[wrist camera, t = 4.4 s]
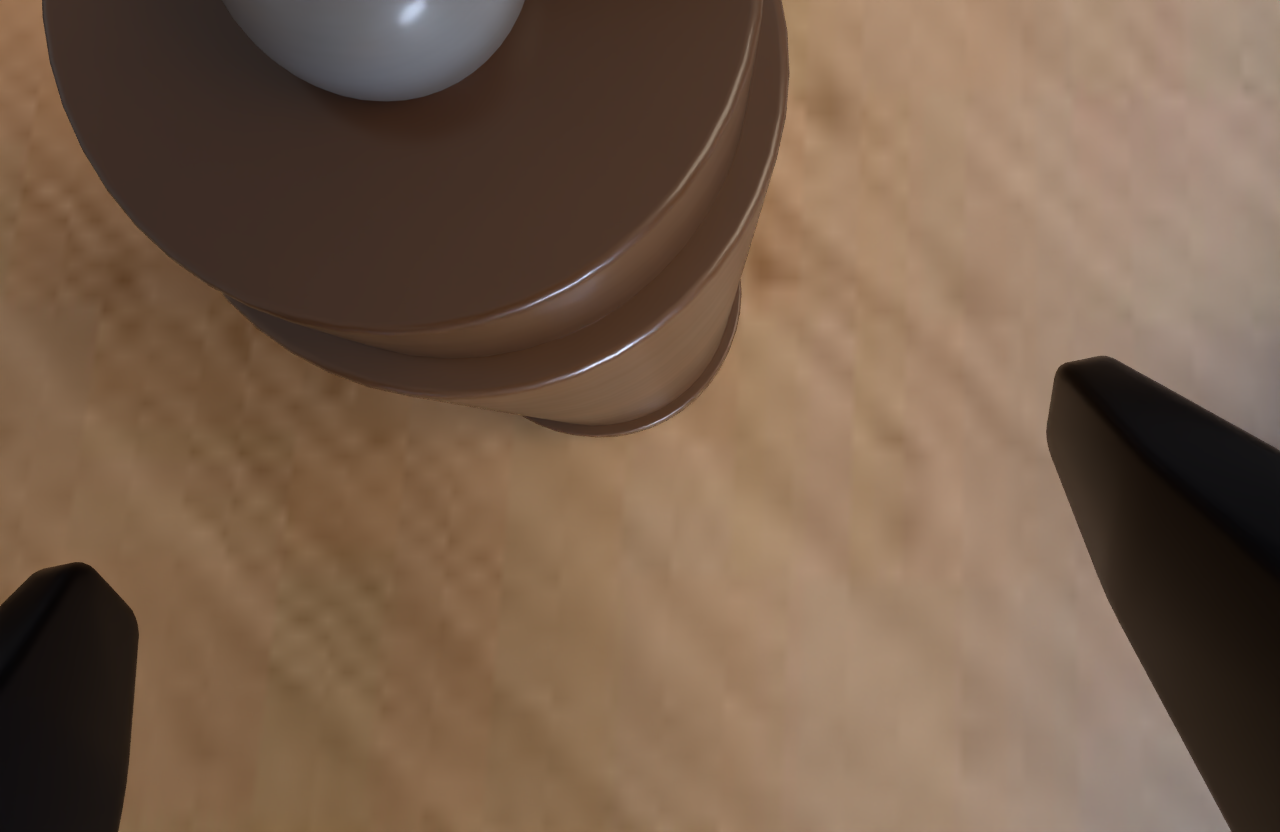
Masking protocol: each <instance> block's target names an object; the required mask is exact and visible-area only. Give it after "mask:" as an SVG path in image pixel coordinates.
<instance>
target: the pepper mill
mask: <svg viewBox="0 0 1280 832" xmlns="http://www.w3.org/2000/svg"><path fill="white" fill-rule="evenodd" d="M42 11H43V22H44V28H45V34H46V41H47V47H48V53H49V60H50V64H51V67H52V71H53V74H54V78H55V81H56V84H57V88H58V91H59V95H60V98H61V101H62V105H63V107H64V110H65V112H66V114H67V116H68V119H69V121H70V123H71V125H72V128H73V130H74V132H75V134H76V137H77V139H78V141H79V143H80V146H81V148H82V150H83V152H84V153H85V155H86V157H87V158H88V160H89V161H90V163H91V165H92V166H93V168H94V170H95V171H96V173H97V175H98V176H99V178H100V179H101V181H102V183H103V184H104V186H105V188H106V189H107V191H108V192H109V193H110V195H111V196H112V197H113V198H114V200H115V201H116V202H117V203H118V204H119V206H120V207H121V208H122V209H123V211H124V212H125V213H126V214H127V215H128V217H129V218H130V219H131V220H132V222H133V223H134V224H135V225H136V226H137V228H138V229H139V230H141V231H142V232H143V233H144V234H145V235H146V236H147V237H148V238H149V239H150V240H151V241H152V242H153V243H154V244H156V245H157V246H158V247H159V248H160V249H161V250H162V251H163V252H164V253H165V254H166V255H167V256H168V257H169V258H171V259H172V260H173V261H175V262H176V263H177V264H179V265H180V266H182V267H183V268H184V269H186V270H187V271H189V272H190V273H192V274H193V275H194V276H196V277H197V278H199V279H200V280H201V281H203V282H204V283H206V284H207V285H208V286H210V287H212V288H214V289H216V290H218V291H220V292H221V293H222V294H223V295H224V297H225V298H226V299H227V300H228V301H229V302H230V303H231V304H232V305H233V306H234V307H235V308H236V309H237V310H238V311H239V312H240V313H241V314H243V315H244V316H245V317H246V318H247V319H248V320H249V321H250V322H251V323H252V324H253V325H254V326H255V327H256V328H257V329H259V330H260V331H261V332H263V333H264V334H266V335H267V336H269V337H270V338H271V339H273V340H274V341H276V342H277V343H278V344H280V345H281V346H283V347H284V348H285V349H287V350H288V351H290V352H291V353H293V354H294V355H296V356H298V357H300V358H302V359H304V360H306V361H308V362H310V363H312V364H313V365H315V366H317V367H319V368H321V369H323V370H325V371H327V372H329V373H331V374H334V375H337V376H339V377H342V378H345V379H348V380H350V381H353V382H356V383H359V384H361V385H364V386H367V387H370V388H375V389H379V390H384V391H388V392H393V393H397V394H402V395H406V396H411V397H417V398H423V399H429V400H435V401H441V402H447V403H452V404H458V405H464V406H470V407H476V408H482V409H488V410H494V411H500V412H506V413H511V414H517V415H521V416H523V417H525V418H527V419H529V420H531V421H533V422H535V423H536V424H538V425H541V426H544V427H547V428H549V429H552V430H555V431H558V432H563V433H567V434H572V435H579V436H591V437H612V436H621V435H627V434H632V433H636V432H640V431H643V430H646V429H649V428H652V427H654V426H656V425H658V424H660V423H663V422H665V421H667V420H669V419H670V418H672V417H673V416H675V415H676V414H678V413H680V412H681V411H683V410H684V409H685V408H686V407H687V406H689V405H690V404H691V403H692V402H693V401H695V400H696V399H697V398H698V397H699V396H700V394H701V393H702V392H703V391H704V390H705V389H706V388H707V387H708V386H709V384H710V383H711V381H712V380H713V379H714V377H715V376H716V374H717V373H718V371H719V370H720V368H721V366H722V364H723V362H724V360H725V358H726V356H727V354H728V352H729V349H730V346H731V344H732V341H733V338H734V335H735V332H736V329H737V324H738V319H739V315H740V306H741V275H742V272H743V269H744V265H745V262H746V259H747V256H748V252H749V249H750V246H751V242H752V239H753V236H754V232H755V229H756V226H757V222H758V219H759V216H760V212H761V209H762V206H763V202H764V199H765V196H766V193H767V189H768V186H769V183H770V179H771V176H772V173H773V169H774V166H775V163H776V159H777V155H778V150H779V146H780V141H781V137H782V132H783V128H784V123H785V118H786V109H787V97H788V85H789V55H788V35H787V27H786V21H785V16H784V11H783V5H782V0H42Z"/></svg>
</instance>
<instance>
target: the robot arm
mask: <svg viewBox="0 0 1280 832" xmlns="http://www.w3.org/2000/svg"><path fill="white" fill-rule="evenodd" d="M1046 433H1047V443H1048V447H1049V451H1050V454H1051V457H1052V460H1053V462H1054V465H1055V467H1056V470H1057V473H1058V475H1059V478H1060V480H1061V483H1062V485H1063V488H1064V490H1065V493H1066V496H1067V498H1068V501H1069V503H1070V506H1071V508H1072V511H1073V514H1074V516H1075V519H1076V521H1077V524H1078V526H1079V529H1080V532H1081V534H1082V537H1083V539H1084V542H1085V544H1086V547H1087V549H1088V552H1089V555H1090V557H1091V560H1092V562H1093V565H1094V567H1095V570H1096V573H1097V575H1098V577H1099V580H1100V582H1101V585H1102V587H1103V589H1104V592H1105V594H1106V597H1107V599H1108V601H1109V603H1110V605H1111V607H1112V609H1113V611H1114V613H1115V615H1116V617H1117V619H1118V621H1119V623H1120V625H1121V626H1122V628H1123V630H1124V632H1125V634H1126V636H1127V638H1128V639H1129V641H1130V643H1131V645H1132V647H1133V649H1134V651H1135V653H1136V654H1137V656H1138V658H1139V660H1140V662H1141V664H1142V666H1143V667H1144V669H1145V671H1146V673H1147V675H1148V677H1149V679H1150V681H1151V682H1152V684H1153V686H1154V688H1155V690H1156V692H1157V694H1158V695H1159V697H1160V699H1161V701H1162V703H1163V705H1164V707H1165V708H1166V710H1167V712H1168V714H1169V716H1170V718H1171V720H1172V722H1173V723H1174V725H1175V727H1176V729H1177V731H1178V733H1179V735H1180V736H1181V738H1182V740H1183V742H1184V744H1185V746H1186V748H1187V750H1188V751H1189V753H1190V755H1191V757H1192V759H1193V761H1194V763H1195V764H1196V766H1197V768H1198V770H1199V772H1200V774H1201V776H1202V777H1203V779H1204V781H1205V783H1206V785H1207V787H1208V789H1209V791H1210V792H1211V794H1212V796H1213V798H1214V800H1215V802H1216V804H1217V805H1218V807H1219V809H1220V811H1221V813H1222V815H1223V817H1224V819H1225V820H1226V822H1227V824H1228V826H1229V828H1230V830H1231V832H1280V450H1278V449H1277V448H1275V447H1273V446H1271V445H1269V444H1268V443H1266V442H1264V441H1262V440H1260V439H1258V438H1257V437H1255V436H1253V435H1251V434H1249V433H1248V432H1246V431H1244V430H1242V429H1240V428H1239V427H1237V426H1235V425H1233V424H1231V423H1230V422H1228V421H1226V420H1224V419H1222V418H1221V417H1219V416H1217V415H1215V414H1213V413H1212V412H1210V411H1208V410H1206V409H1204V408H1203V407H1201V406H1199V405H1197V404H1195V403H1194V402H1192V401H1190V400H1188V399H1186V398H1185V397H1183V396H1181V395H1179V394H1177V393H1176V392H1174V391H1172V390H1170V389H1168V388H1166V387H1165V386H1163V385H1161V384H1159V383H1157V382H1156V381H1154V380H1152V379H1150V378H1148V377H1147V376H1145V375H1143V374H1141V373H1139V372H1138V371H1136V370H1134V369H1132V368H1130V367H1129V366H1127V365H1125V364H1123V363H1121V362H1120V361H1118V360H1116V359H1114V358H1111V357H1108V356H1097V357H1092V358H1087V359H1082V360H1077V361H1072V362H1067V363H1064V364H1063V365H1061V366H1060V367H1059V368H1058V370H1057V371H1056V374H1055V378H1054V383H1053V390H1052V396H1051V402H1050V409H1049V415H1048V421H1047V430H1046ZM138 639H139V631H138V624H137V620H136V617H135V615H134V613H133V611H132V610H131V608H130V607H129V606H128V605H127V604H126V603H125V601H124V600H123V599H122V598H121V597H120V596H119V595H118V594H117V593H116V592H115V591H114V590H113V589H112V587H111V586H110V585H109V584H108V583H107V582H106V581H105V580H104V579H103V578H102V577H101V576H100V575H99V573H98V572H97V571H96V570H95V569H94V568H92V567H91V566H90V565H87V564H85V563H82V562H74V563H69V564H64V565H59V566H54V567H49V568H44V569H42V570H39V571H37V572H35V573H34V574H32V575H31V576H30V577H29V578H28V579H27V580H26V581H25V582H24V583H23V584H22V585H21V586H20V587H19V588H18V589H17V590H16V591H15V592H14V593H13V594H12V595H11V596H10V597H9V598H8V599H7V600H6V601H5V602H4V603H3V604H2V605H1V606H0V832H118V830H119V825H120V819H121V814H122V808H123V802H124V796H125V790H126V783H127V774H128V765H129V755H130V742H131V729H132V716H133V703H134V690H135V677H136V665H137V652H138Z"/></svg>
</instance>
